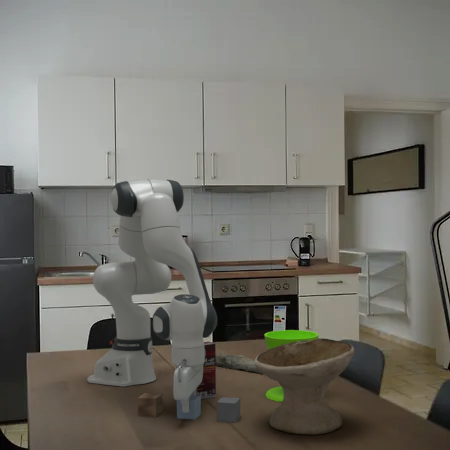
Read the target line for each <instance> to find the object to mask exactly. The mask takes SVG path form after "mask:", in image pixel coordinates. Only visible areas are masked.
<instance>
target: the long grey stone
mask: <svg viewBox="0 0 450 450" xmlns="http://www.w3.org/2000/svg"><path fill="white" fill-rule="evenodd" d="M254 361H255V359H253V358H249V357H247V356H244V355H243V354H239V355H237V354H232V353H231V354H227V353H223V352H219V353H218V354H216V367H219V368H221V367H222V368H223V369H233V370H243V371H246V372H253V373H256V374H260V375H264V374H263V373H262V372H260V371H259V370H258V369H257V368H256V366H255V363H254Z"/></svg>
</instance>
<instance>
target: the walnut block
mask: <svg viewBox="0 0 450 450" xmlns="http://www.w3.org/2000/svg"><path fill="white" fill-rule="evenodd" d="M137 411H138V415H137V416H138V417H139V416H140V417H147V418H149V417H150V418H151V417H152V418H156V417H158V416H159V415H160V414H162V413H163V393H155V392H154V393H153V392H144V393H143V394H141V395H139V396H138V397H137Z"/></svg>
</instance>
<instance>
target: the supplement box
mask: <svg viewBox="0 0 450 450" xmlns="http://www.w3.org/2000/svg"><path fill="white" fill-rule="evenodd" d="M204 349H205V352H206V356H205V362H204V363H203V378H202V382H201V383H200V385H199V386H198V387H197V388H196V395H198V396H201V400H203V399H210V398H216V397H217V385H216V384H217V379H216V377H217V374H216V372H217V371H216V369H217V366H216V350H217V349H216V343H214V342H212V341H204Z"/></svg>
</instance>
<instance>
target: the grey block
mask: <svg viewBox="0 0 450 450" xmlns="http://www.w3.org/2000/svg"><path fill="white" fill-rule="evenodd" d="M240 418H241V398H240V397H222V396H221V398H219V399H218V400H217V402H216V421H217V422H224V423H237V422H238V421H239V420H240Z"/></svg>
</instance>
